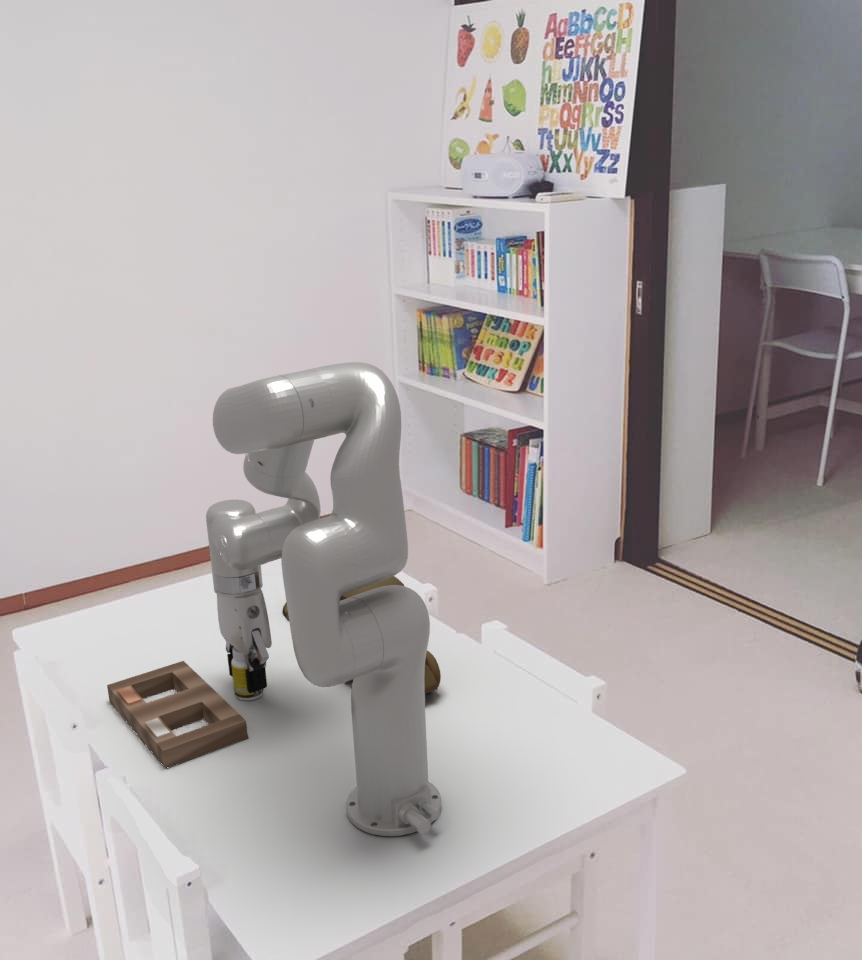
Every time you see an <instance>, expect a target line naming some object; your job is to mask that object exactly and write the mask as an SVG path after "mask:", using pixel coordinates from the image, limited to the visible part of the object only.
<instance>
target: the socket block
mask: <svg viewBox="0 0 862 960" xmlns="http://www.w3.org/2000/svg"><path fill="white" fill-rule="evenodd" d="M106 687H107V693H108V694H107V695H108V701H109V703H110V704H111V705H112V707H113V708H114V709H115V710H116V712H117V713H118V714H119V715H120V716H121V717H122V719H123V720H124V719H125V720H126V721H127V722H128V723H127V722H126V721H125V720H124V721H125V722H126V723H127V724H128V726H129V725H130V726H131V727H132V728H133V729H132V728H131V727H130V726H129V727H130V728H131V729H132V730H133V732H134V731H135V732H136V733H137V734H138V735H139V736H138V735H137V734H136V733H135V732H134V733H135V734H136V735H137V736H138V738H139V737H140V738H141V739H142V740H143V741H144V742H143V741H142V740H141V739H140V738H139V739H140V740H141V741H142V742H143V744H144V743H145V744H146V745H147V746H148V747H149V748H148V747H147V746H146V745H145V744H144V745H145V746H146V747H147V748H148V750H149V749H150V750H151V751H152V752H153V753H152V752H151V751H150V750H149V751H150V752H151V753H152V755H153V756H154V755H155V756H156V757H157V758H156V757H155V756H154V757H155V758H156V759H157V760H158V759H159V760H158V762H159V761H160V762H161V763H162V764H163V765H164V766H163V765H162V764H161V763H160V762H159V763H160V764H161V765H162V766H163V768H164V767H165V768H167V767H170V766H172V765H175V766H177V765H176V764H178V765H180V764H183V763H186V762H189V761H192V760H193V759H196V758H199V757H201V756H204V755H207V754H210V753H212V752H215V751H219V750H221V749H223V748H226V747H229V746H231V745H234V744H237V743H239V742H242V741H245V740H248V739H249V735H248V725H247V720H246V719H245V718H244V717H243V716H242V715H241V714H240V713H239V712H237V710H236V709H234V707H232V706H231V704H229V703H228V702H227V701H226V700H225V699H224V698H223V697H222V696H221V695H220V694H219V693H218V692H217V691H216V690H215V689H214V688H213V687H212V686H211V685H209V684H208V683H207V681H205V679H203V678H202V677H201V676H200V675H199V673H197V672H196V671H195V670H194V669H193V668H192V667H190V666H189V664H188V663H186V662H185V660H182V661H178V662H175V663H172V664H169V665H165V666H163V667H160V668H159V667H158V668H155V669H153V670H150V671H147V672H143V673H140V674H138V675H135V676H131V677H129V678H128V677H127V678H125V679H122V680H119V681H116V682H112V683H110V684H107V685H106ZM172 689H175V691H176V692H175V693H172V694H170V695H167V696H165V697H160V698H158V699H155V700H151V701H148V702H147V701H145V699H146V698H149V697H152V696H155V695H157V694H160V693H164V692H168V691H170V690H172ZM163 691H164V692H163ZM148 696H149V697H148ZM200 720H204V721H206V723H207V725H205V726H201V727H198V728H196V729H192V730H190V731H187V732H184V733H181V734H178V735H176V734H175V733H174V732H173V731H172V730H176V729H179V728H181V727H185V726H186V725H189V724H192V723H193V724H194V723H195V722H199V721H200ZM182 762H183V763H182ZM172 767H173V766H172ZM165 768H164V769H165ZM170 768H171V767H170ZM167 769H168V768H167Z"/></svg>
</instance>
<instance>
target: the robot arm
mask: <svg viewBox="0 0 862 960" xmlns="http://www.w3.org/2000/svg"><path fill="white" fill-rule="evenodd" d="M212 428H213V432H214V436H215V438H216V440H217V443H218V444H219V445H220V446H221V448H222V449H224V451H226V452H227V453H230V454H235V455H244V460H243V466H242V469H243V473H244V477H245V479H246V480H247V481H248V482H249V484H250V485H251V486H252V487H253V488H255V489H256V490H258V491H259V492H261V493H264V494H267V495H271V496H275V497H280V498H284V499H287V501H286V504H284V505H282V506H278V507H275V508H274V507H273V508H269V509H267V510H266V509H265V510H263V511H259V512H256V510H255V507H254V505H253V504H252V503H250V502H248V501H246V500H243V499H226V500H225V499H224V500H222V501H218V502H215V503H214V504H212V505H211V506H209V507H208V509H207V510H206V514H205V519H206V520H205V521H206V529H207V530H206V531H207V538H208V540H207V541H208V546H209V547H208V548H209V555H210V556H209V557H210V565H211V567H210V568H211V574H212V583H213V592H214V593H215V594H216V602H217V603H216V605H217V608H216V609H217V618H218V626H219V632H220V634H221V636H222V637H223V639H224V640H225V651H226V653H227V655H226V656H227V663H228V672H229V676H230V677H231V678H233V674H232V665H231V662H232V659H233V651H232V649H233V647H235V648H236V649H237V650H238V651H240V652H241V653H243V654H244V657H245V661H246V665H247V670H245V673H246V682H247V691H248V692H249V693H253V692H256V691H259V690H262V689H264V690H265V689H266V688H267V687H268V682H267V671H266V667H267V661H268V660H269V658H270V654H269V652H268V650H267V649H270V648H271V647H272V644H273V642H272V634H271V628H270V620H269V614H268V608H267V604H266V600H265V596H264V593H263V590H262V589H263V577H262V575H263V574H262V573H263V572H262V565H265V564H268V563H271V562H274V561H277V560H281V574H282V581H283V586H284V592H285V601H286V602H287V609H288V615H289V621H288V622H289V627H290V629H289V630H290V634H291V640H292V647H293V652H294V656H295V658H296V662H297V666H298V668H299V670H300V671H301V673H302V675H303V676H304V678H305V679H306V680H307V681H308V682H309V683H310V684H312V685H313V686H316V687H318V688H330V687H334V686H338V685H341V684H344V683H348V682H347V681H350V680H352V679H353V682H352V684H351V691H350V707H351V709H350V710H351V721H352V723H351V724H352V736H353V750H354V751H353V752H354V763H355V764H354V765H355V779H356V787H355V788H353V790H352V791H351V792H350V793H349V795H348V797H347V799H346V803H345V805H346V813H347V814H346V815H347V816H348V819H349V821H350V822H351V824H352V825H354V826H355V827H357V828H358V829H359V830H361V831H363V832H365V833H368V834H371V835H374V836H375V835H376V836H381V837H397V836H398V837H401V836H404V835H405V836H407V835H410V834H413V833H416V832H417V833H418V834H420V835H425V834H427V833H428V832H429V831H430V829H431V827H432V823H433V822H434V821H436V820H439V818H440V813H441V808H442V797H441V793H440V792H439V790H438V788H437V787H436V786H435V785H434V784H433V783H431V782H430V781H429V767H428V766H429V765H428V764H429V763H428V746H427V744H428V742H427V722H426V721H427V720H426V718H427V717H426V694H425V686H424V673H425V659H426V653H427V651H428V646H429V639H430V630H431V623H430V614H429V610H428V607H427V605H426V603H425V601H424V599H423V598H422V597H421V595H419V593H418V592H417V591H415V590H414V589H412V588H410V587H408V586H406V585H404V586H401V585H389V586H383V587H379V588H375V589H372V590H369V591H366V592H363V593H360V594H357V595H354V596H351V597H349V598H347V599H344V600H341V601H340V597H341V595H343V594H346V593H349V592H352V591H355V590H358V589H360V588H363V587H366V586H369V585H372V584H375V583H378V582H381V581H383V580H386V579H388V578H391V577H393V576H395V577H396V575H398V574H399V573H400V572H402V571H403V569H404V568H405V567H406V564H407V562H408V558H409V543H408V542H409V541H408V532H407V522H406V515H405V506H404V504H405V503H404V498H403V489H402V481H401V474H400V471H401V470H400V449H401V439H402V438H401V437H402V411H401V404H400V400H399V397H398V394H397V391H396V389H395V386H394V385H393V383H392V381H391V380H390V379H389V377H388V376H387V375H386V373H385V372H384V371H383V370H382V369H380V368H379V367H377V366H376V365H373V364H370V363H367V362H359V361H358V362H357V361H355V362H353V361H352V362H343V363H342V362H341V363H335V364H329V365H324V366H319V367H314V368H313V367H312V368H310V369H309V368H308V369H305V370H300V371H295V372H289V373H285V374H279V375H274V376H270V377H264V378H262V379H258V380H255V381H252V382H248V383H244V384H241V385H239V386H233V387H231V388H228V389H226V390H224V391H223V392H222V393H221V394H220V395H219V396H218V398H217V400H216V402H215V404H214V408H213V412H212ZM342 433H343V434H345V437H344V440H343V441H342V443H341V445H340V446H339V448H338V450H337V453H336V455H335V458H334V461H333V463H332V465H331V466H332V467H331V471H330V476H329V477H330V478H329V479H330V489H331V495H332V505H333V506H332V510H331V514H329V515H328V516H325V517H321V512H322V511H321V501H320V495H319V493H318V489H317V487H316V485H315V483H314V480H313V479H312V478H311V477H310V475H309V474H308V473H307V472H306V470H307V467H308V464H309V463H308V462H309V459H310V457H311V452H312V448H313V445H314V442H315V440H319V439H322V438H323V439H325V438H326V437H331V436H336V435H338V434H342ZM286 602H285V603H286ZM251 646H254V647H255V649H252V650H249V648H251ZM255 653H257V657H256V658H254V659H253V661H251V657H250V655H251V654H255Z"/></svg>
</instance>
